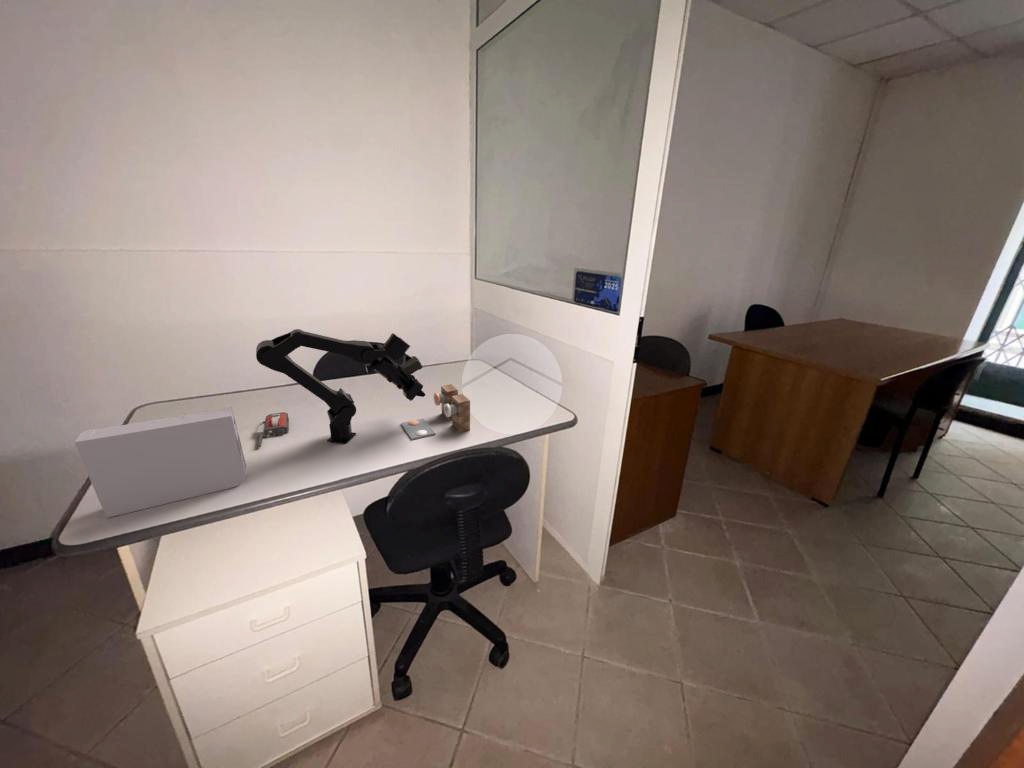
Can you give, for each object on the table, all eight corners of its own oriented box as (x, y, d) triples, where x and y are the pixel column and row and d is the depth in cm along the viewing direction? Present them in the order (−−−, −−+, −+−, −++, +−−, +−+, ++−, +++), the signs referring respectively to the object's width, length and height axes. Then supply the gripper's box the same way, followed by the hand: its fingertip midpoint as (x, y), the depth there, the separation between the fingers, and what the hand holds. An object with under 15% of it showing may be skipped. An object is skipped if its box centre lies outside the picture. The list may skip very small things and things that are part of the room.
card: (411, 440, 127) (411, 438, 127) (400, 424, 137) (400, 422, 137) (435, 434, 131) (435, 432, 131) (423, 419, 141) (423, 417, 140)
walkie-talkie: (260, 422, 135) (255, 451, 118) (257, 410, 133) (252, 438, 117) (289, 418, 139) (289, 445, 122) (287, 406, 137) (286, 432, 121)
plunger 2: (449, 419, 131) (448, 407, 129) (444, 413, 134) (443, 402, 132) (467, 415, 134) (467, 403, 132) (462, 410, 137) (462, 398, 136)
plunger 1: (438, 407, 138) (437, 396, 137) (433, 402, 142) (433, 391, 140) (455, 404, 142) (455, 392, 140) (451, 399, 145) (451, 388, 144)
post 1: (447, 420, 141) (447, 391, 137) (441, 413, 146) (440, 385, 142) (458, 417, 143) (458, 389, 139) (451, 411, 148) (451, 384, 144)
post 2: (459, 432, 133) (458, 402, 129) (452, 424, 138) (451, 396, 134) (470, 429, 135) (470, 400, 131) (462, 422, 140) (462, 394, 136)
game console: (112, 504, 94) (82, 430, 87) (248, 472, 108) (232, 406, 100) (106, 518, 90) (73, 442, 82) (248, 484, 103) (231, 415, 96)
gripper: (415, 359, 120) (449, 386, 130) (397, 343, 135) (430, 369, 145) (390, 387, 119) (427, 413, 129) (376, 368, 134) (410, 392, 144)
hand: (424, 395), depth 137 cm, fingers closed
